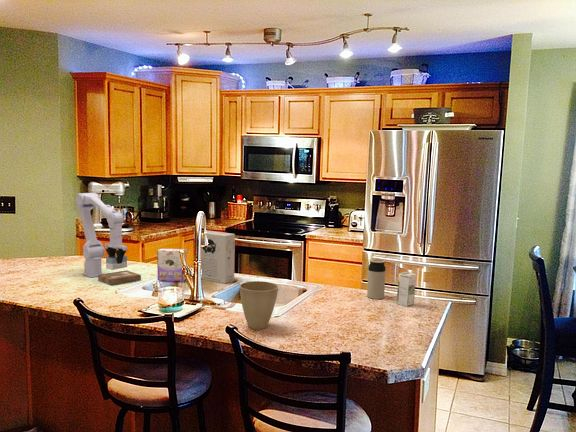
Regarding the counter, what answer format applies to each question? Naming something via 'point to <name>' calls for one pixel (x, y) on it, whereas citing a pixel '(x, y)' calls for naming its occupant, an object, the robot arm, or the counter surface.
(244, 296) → the plant pot
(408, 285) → the syrup box
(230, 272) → the cereal box
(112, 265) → the block
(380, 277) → the travel mug
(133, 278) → the stand
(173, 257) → the candy box
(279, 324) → the counter surface
